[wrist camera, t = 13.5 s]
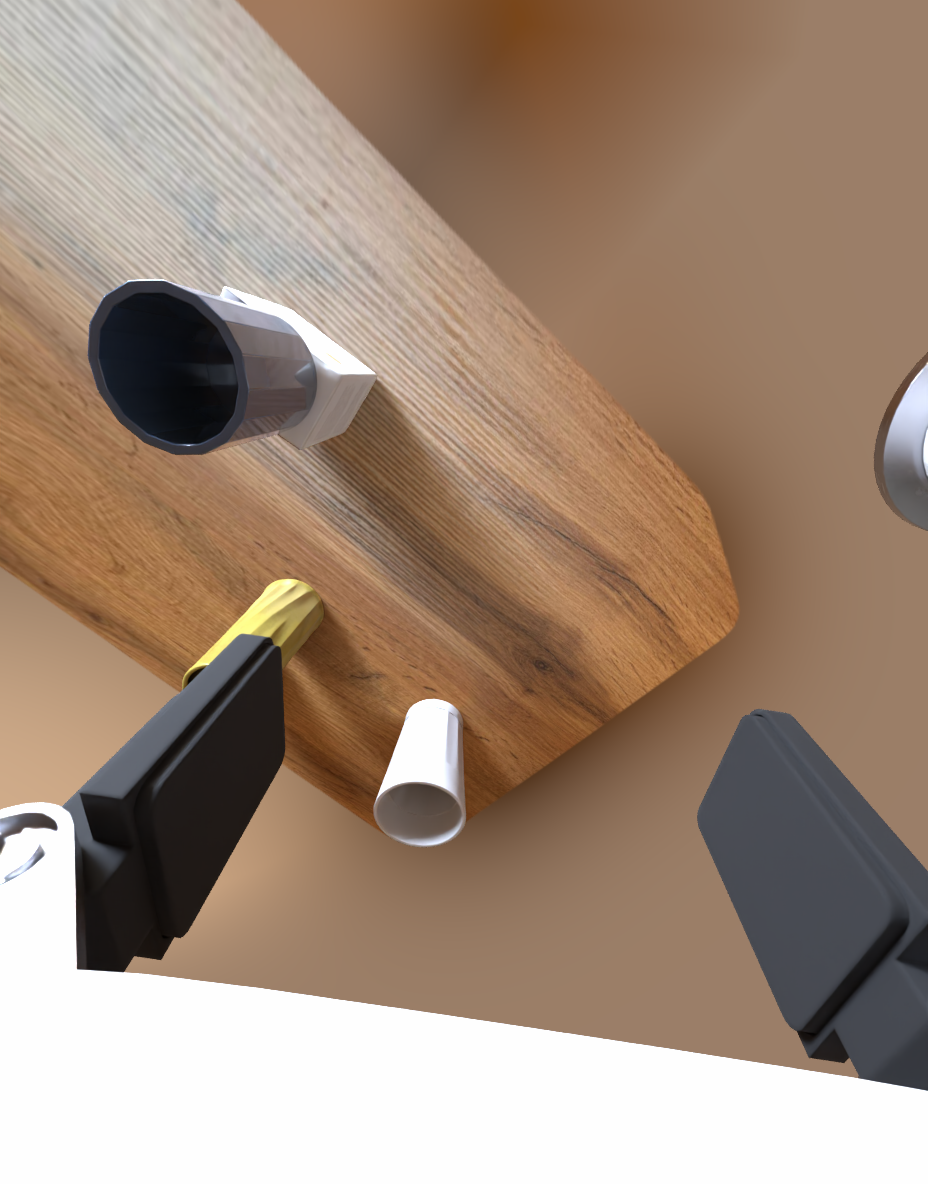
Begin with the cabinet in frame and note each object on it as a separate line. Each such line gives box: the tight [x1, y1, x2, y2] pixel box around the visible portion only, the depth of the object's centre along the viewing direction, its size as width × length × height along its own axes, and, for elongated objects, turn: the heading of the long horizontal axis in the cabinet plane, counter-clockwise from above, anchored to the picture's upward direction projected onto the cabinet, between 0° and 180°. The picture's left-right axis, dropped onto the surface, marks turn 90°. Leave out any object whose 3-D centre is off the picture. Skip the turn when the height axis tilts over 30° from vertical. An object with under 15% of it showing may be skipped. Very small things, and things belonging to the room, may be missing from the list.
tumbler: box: [88, 279, 317, 455], centre depth 24 cm, size 7×7×9 cm
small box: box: [220, 287, 377, 450], centre depth 33 cm, size 8×6×10 cm
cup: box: [374, 699, 466, 847], centre depth 46 cm, size 8×8×12 cm
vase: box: [182, 579, 324, 689], centre depth 40 cm, size 6×6×14 cm
